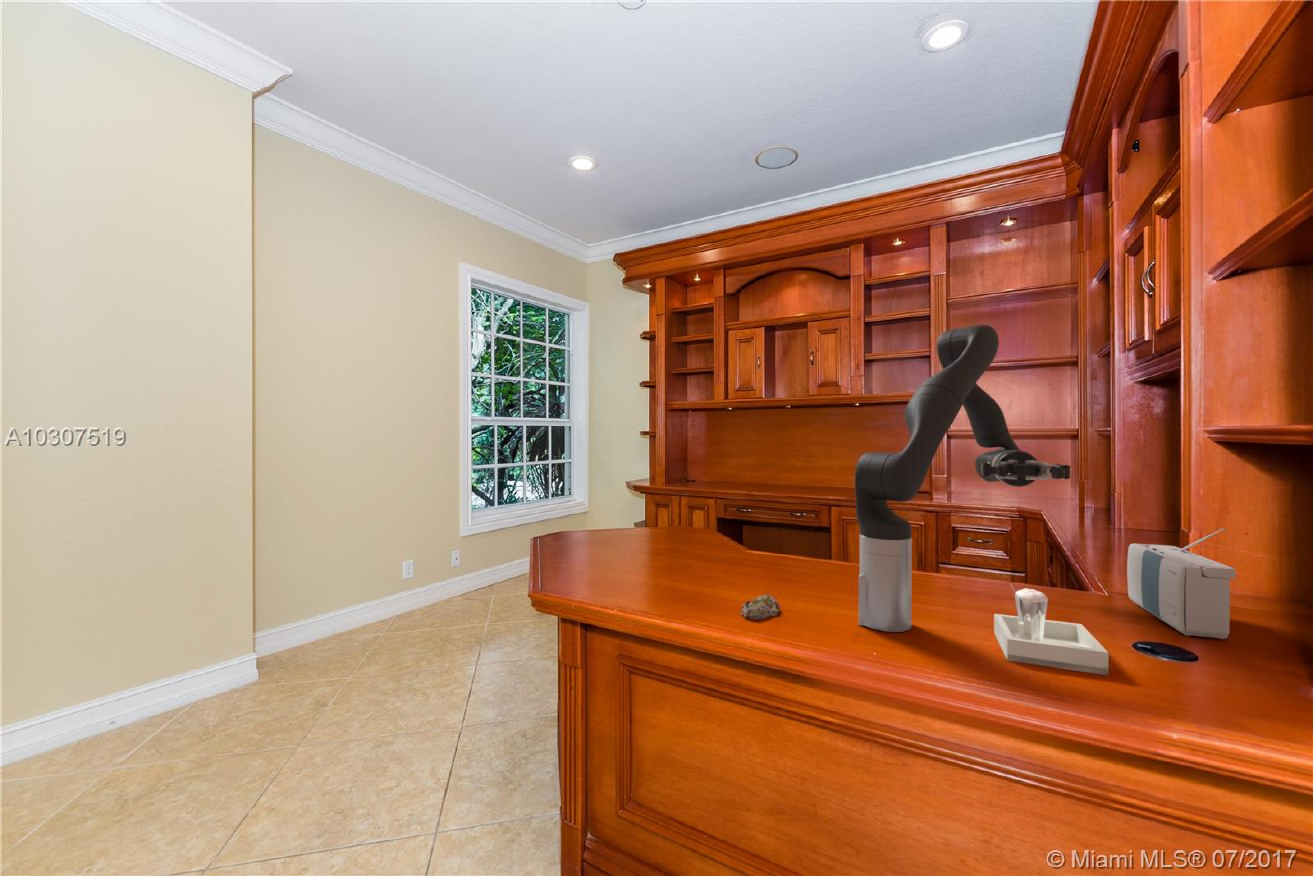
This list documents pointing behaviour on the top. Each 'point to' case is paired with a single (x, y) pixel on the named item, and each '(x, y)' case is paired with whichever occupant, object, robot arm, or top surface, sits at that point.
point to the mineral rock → (760, 608)
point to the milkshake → (1031, 613)
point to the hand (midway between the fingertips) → (1031, 472)
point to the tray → (1052, 646)
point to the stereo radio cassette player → (1181, 588)
